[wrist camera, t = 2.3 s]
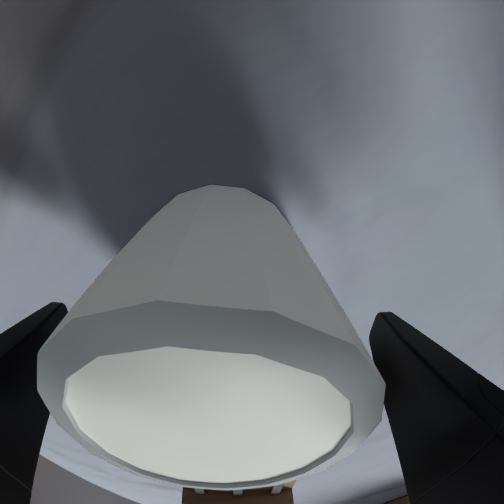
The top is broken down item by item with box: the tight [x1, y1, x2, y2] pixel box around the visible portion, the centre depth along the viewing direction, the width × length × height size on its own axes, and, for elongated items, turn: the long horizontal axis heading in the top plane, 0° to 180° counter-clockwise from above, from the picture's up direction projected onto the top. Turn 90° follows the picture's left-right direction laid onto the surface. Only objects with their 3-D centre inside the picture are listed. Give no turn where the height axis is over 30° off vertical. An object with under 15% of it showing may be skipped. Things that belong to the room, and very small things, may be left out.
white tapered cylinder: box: [37, 185, 386, 490], centre depth 8 cm, size 7×7×7 cm
